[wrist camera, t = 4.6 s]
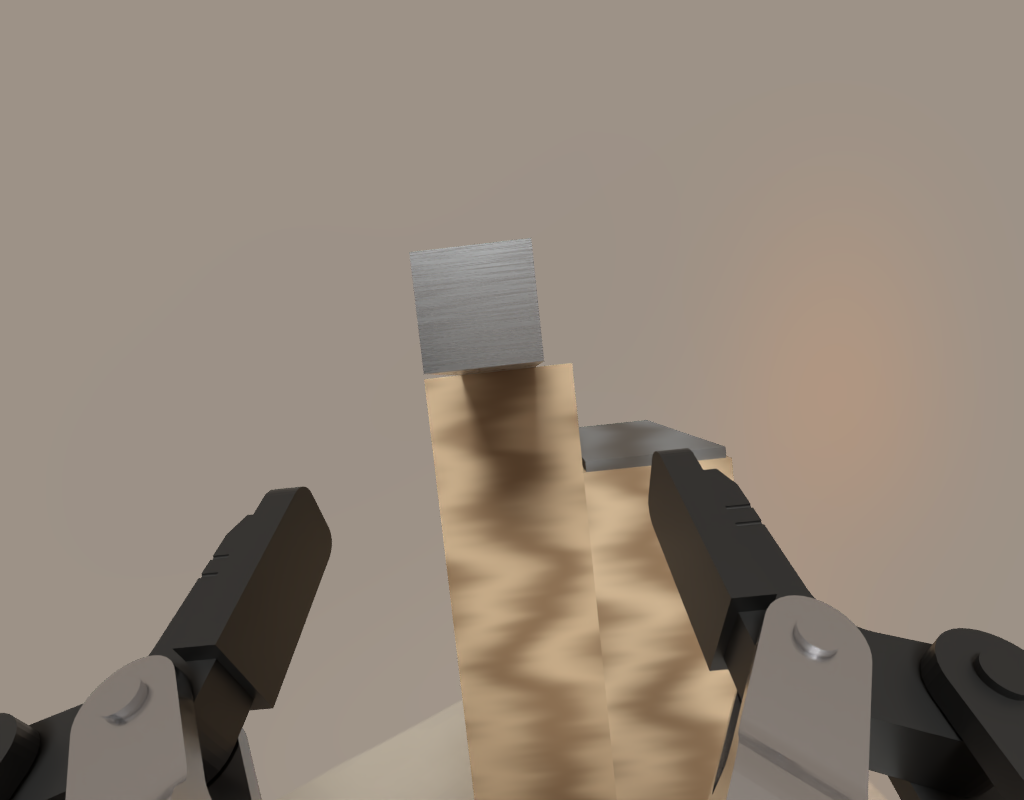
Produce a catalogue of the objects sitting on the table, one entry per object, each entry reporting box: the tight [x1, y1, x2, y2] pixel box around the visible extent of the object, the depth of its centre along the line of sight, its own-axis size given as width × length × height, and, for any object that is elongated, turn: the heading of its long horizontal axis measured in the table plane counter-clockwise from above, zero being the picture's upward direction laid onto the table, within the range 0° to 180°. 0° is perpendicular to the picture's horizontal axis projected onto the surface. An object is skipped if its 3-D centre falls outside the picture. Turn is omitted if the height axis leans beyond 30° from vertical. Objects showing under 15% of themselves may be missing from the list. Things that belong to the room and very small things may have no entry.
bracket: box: [425, 363, 736, 800], centre depth 31 cm, size 16×15×32 cm
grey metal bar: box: [409, 238, 544, 375], centre depth 26 cm, size 4×24×4 cm, turn 179°
